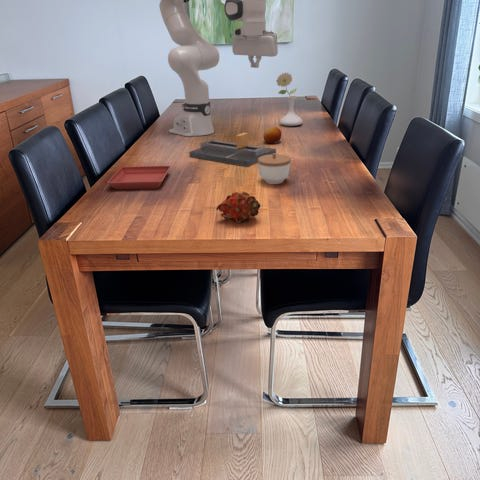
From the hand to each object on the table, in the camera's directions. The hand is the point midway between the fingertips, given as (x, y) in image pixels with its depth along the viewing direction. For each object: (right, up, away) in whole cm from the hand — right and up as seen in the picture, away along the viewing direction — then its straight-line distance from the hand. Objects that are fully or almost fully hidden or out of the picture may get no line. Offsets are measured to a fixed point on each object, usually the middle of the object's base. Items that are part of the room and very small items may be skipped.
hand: (254, 67), depth 192 cm
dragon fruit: (-6, -65, -64) cm, 92 cm away
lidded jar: (+5, -51, -36) cm, 62 cm away
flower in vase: (+19, -13, +42) cm, 48 cm away
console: (-9, -37, -5) cm, 38 cm away
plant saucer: (-40, -51, -31) cm, 72 cm away
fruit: (+8, -29, +11) cm, 32 cm away
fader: (-5, -36, -9) cm, 37 cm away
